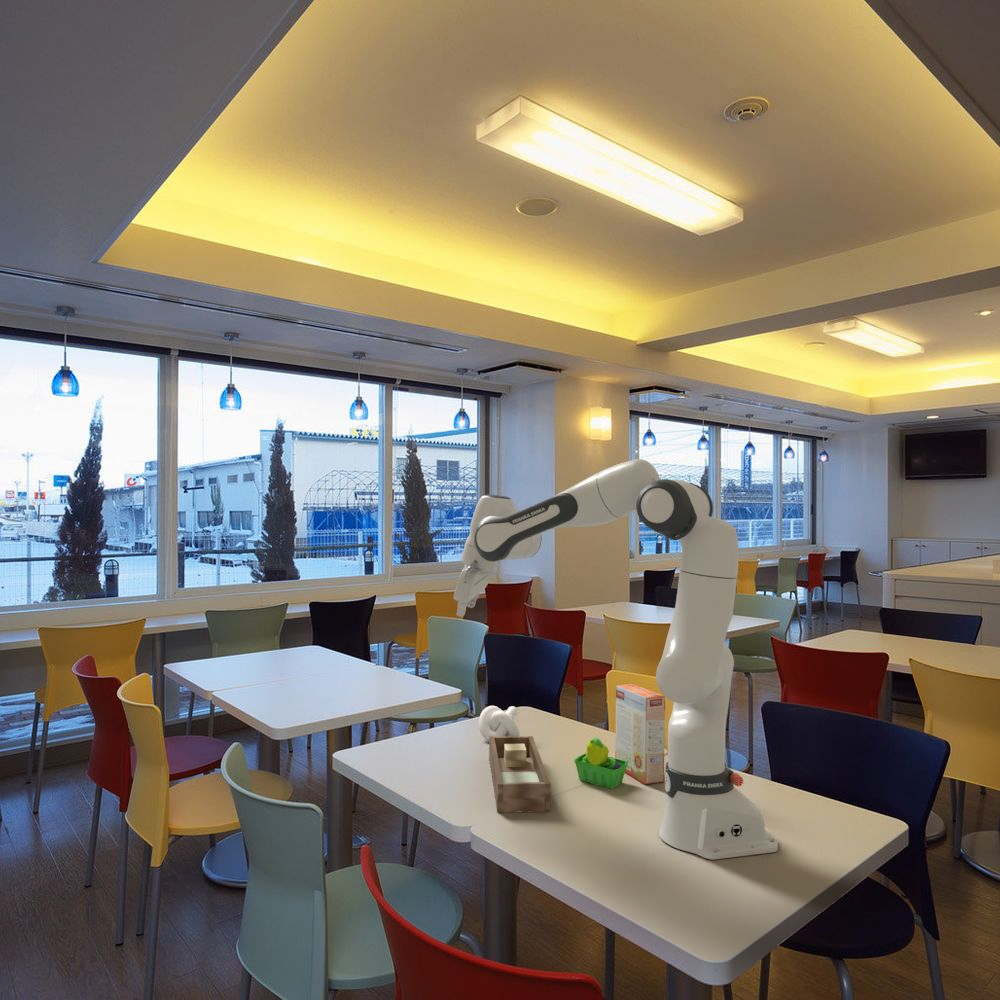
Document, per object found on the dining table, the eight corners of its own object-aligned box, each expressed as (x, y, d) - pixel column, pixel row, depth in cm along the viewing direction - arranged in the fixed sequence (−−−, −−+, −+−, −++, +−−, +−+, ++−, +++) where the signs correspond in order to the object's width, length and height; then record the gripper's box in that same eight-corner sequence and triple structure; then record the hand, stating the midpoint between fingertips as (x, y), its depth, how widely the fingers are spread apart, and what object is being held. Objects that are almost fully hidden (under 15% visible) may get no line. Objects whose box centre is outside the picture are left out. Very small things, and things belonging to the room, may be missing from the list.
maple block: (524, 759, 182) (524, 743, 182) (526, 766, 177) (526, 750, 177) (504, 760, 182) (504, 743, 182) (505, 767, 177) (505, 750, 177)
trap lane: (532, 759, 192) (532, 736, 192) (550, 811, 158) (550, 783, 158) (489, 759, 191) (489, 736, 191) (497, 812, 157) (497, 784, 157)
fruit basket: (629, 782, 176) (629, 735, 176) (611, 793, 169) (612, 744, 169) (588, 772, 183) (588, 726, 183) (569, 782, 175) (570, 735, 176)
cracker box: (665, 782, 176) (666, 695, 176) (644, 785, 174) (645, 697, 174) (634, 764, 189) (635, 682, 189) (614, 766, 187) (614, 684, 187)
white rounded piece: (490, 730, 217) (491, 700, 217) (528, 736, 212) (529, 704, 212) (474, 741, 206) (475, 709, 206) (514, 747, 202) (514, 714, 202)
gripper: (481, 569, 167) (466, 625, 169) (501, 555, 187) (486, 606, 188) (456, 561, 168) (440, 617, 170) (478, 548, 188) (464, 598, 190)
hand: (465, 611), depth 179 cm, fingers open, 8 cm apart
